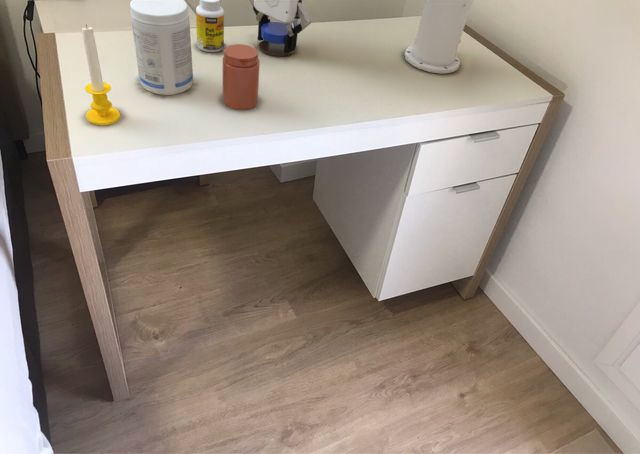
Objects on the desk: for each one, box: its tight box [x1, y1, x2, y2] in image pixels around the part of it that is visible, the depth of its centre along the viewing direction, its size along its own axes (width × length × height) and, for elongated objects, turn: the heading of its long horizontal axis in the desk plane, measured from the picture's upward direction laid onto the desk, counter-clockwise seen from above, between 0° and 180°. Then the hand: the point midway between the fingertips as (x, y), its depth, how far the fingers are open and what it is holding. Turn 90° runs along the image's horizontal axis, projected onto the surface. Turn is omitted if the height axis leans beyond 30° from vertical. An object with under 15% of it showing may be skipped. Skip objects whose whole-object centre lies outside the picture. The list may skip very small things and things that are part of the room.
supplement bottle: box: [195, 0, 225, 53], centre depth 105 cm, size 6×6×10 cm
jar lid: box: [261, 21, 288, 44], centre depth 110 cm, size 7×7×2 cm
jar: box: [222, 43, 261, 111], centre depth 91 cm, size 6×6×10 cm
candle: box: [81, 24, 121, 126], centre depth 80 cm, size 5×5×16 cm
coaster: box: [258, 40, 296, 58], centre depth 112 cm, size 8×8×1 cm
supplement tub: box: [129, 0, 194, 96], centre depth 90 cm, size 10×10×15 cm
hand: (276, 44), depth 111 cm, fingers closed on jar lid, 6 cm apart
